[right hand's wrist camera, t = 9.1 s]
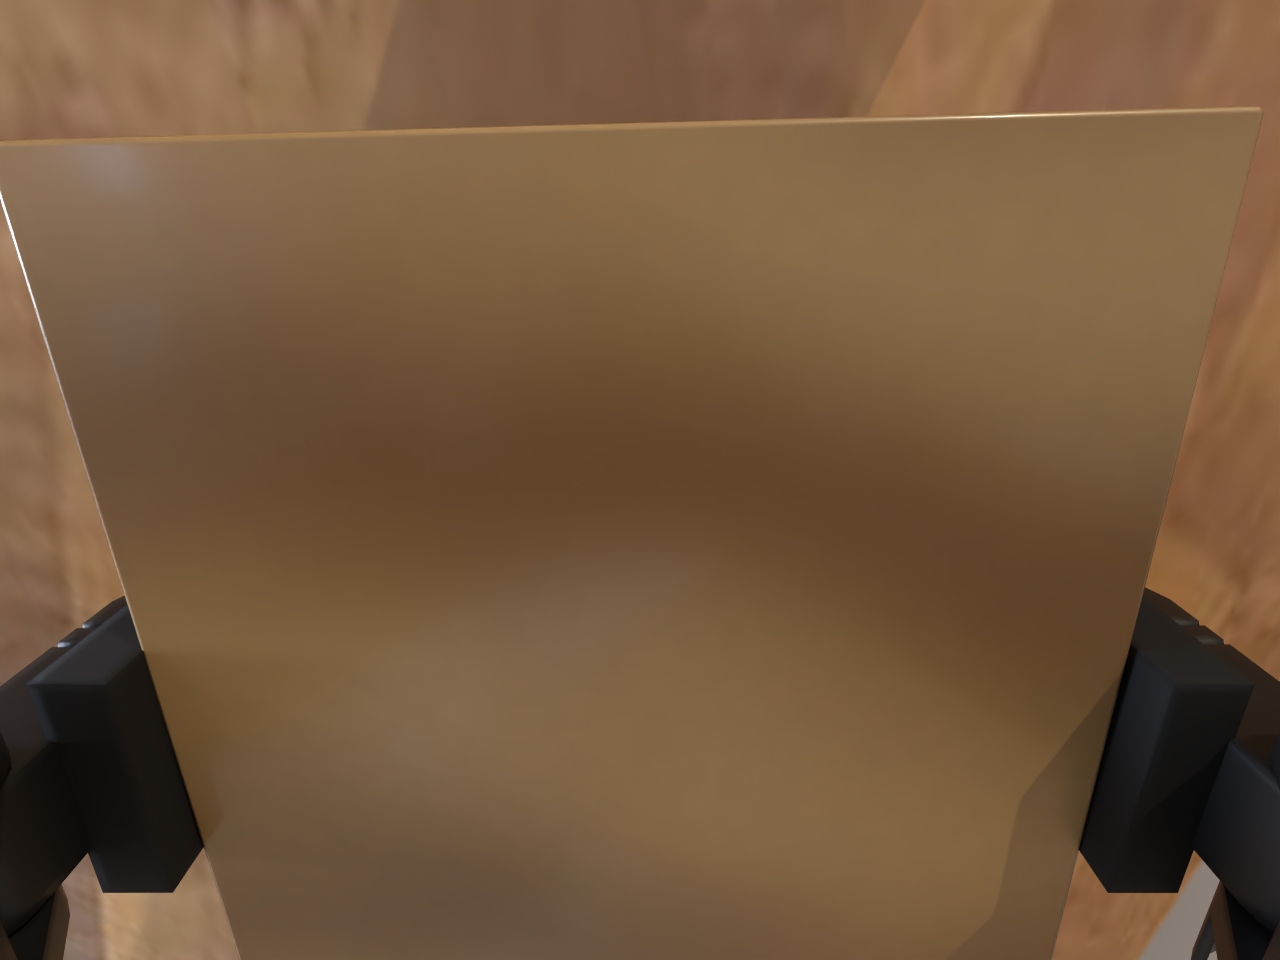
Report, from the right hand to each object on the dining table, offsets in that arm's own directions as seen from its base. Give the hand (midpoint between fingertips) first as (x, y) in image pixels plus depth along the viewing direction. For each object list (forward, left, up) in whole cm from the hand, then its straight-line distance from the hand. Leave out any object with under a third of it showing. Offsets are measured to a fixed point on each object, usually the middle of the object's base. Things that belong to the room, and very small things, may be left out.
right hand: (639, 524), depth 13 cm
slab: (+13, -23, -1) cm, 26 cm away
